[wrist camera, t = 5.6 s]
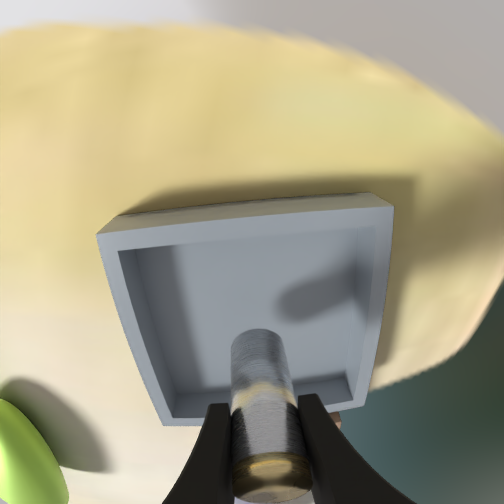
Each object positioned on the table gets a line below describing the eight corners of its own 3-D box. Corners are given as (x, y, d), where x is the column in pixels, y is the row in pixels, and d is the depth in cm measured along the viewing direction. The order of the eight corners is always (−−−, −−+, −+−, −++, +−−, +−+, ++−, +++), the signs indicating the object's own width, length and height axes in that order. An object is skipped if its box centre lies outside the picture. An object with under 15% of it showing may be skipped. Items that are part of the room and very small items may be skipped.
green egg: (58, 544, 18) (32, 484, 12) (-23, 485, 17) (-75, 383, 12) (81, 502, 25) (80, 418, 20) (5, 451, 25) (-21, 343, 20)
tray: (352, 378, 19) (363, 405, 17) (168, 396, 19) (163, 426, 16) (370, 192, 14) (394, 206, 12) (115, 216, 14) (95, 234, 12)
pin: (285, 365, 14) (310, 498, 8) (234, 371, 14) (237, 505, 8) (283, 325, 13) (315, 468, 7) (227, 331, 13) (226, 477, 7)
